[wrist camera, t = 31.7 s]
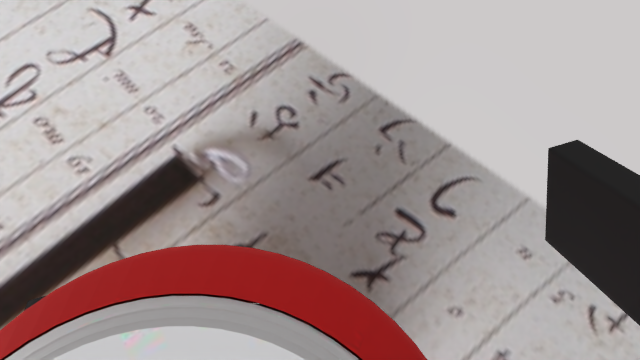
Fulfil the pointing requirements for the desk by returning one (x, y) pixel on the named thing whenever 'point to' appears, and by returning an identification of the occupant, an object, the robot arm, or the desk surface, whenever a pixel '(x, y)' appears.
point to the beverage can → (206, 312)
